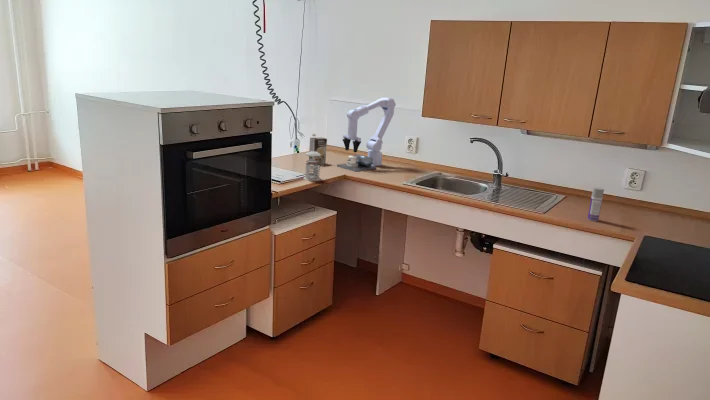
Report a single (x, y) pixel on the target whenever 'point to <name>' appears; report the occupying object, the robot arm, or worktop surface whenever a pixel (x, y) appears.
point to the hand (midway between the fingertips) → (351, 151)
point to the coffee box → (318, 149)
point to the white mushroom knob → (352, 159)
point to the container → (595, 204)
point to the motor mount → (359, 164)
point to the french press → (315, 168)
